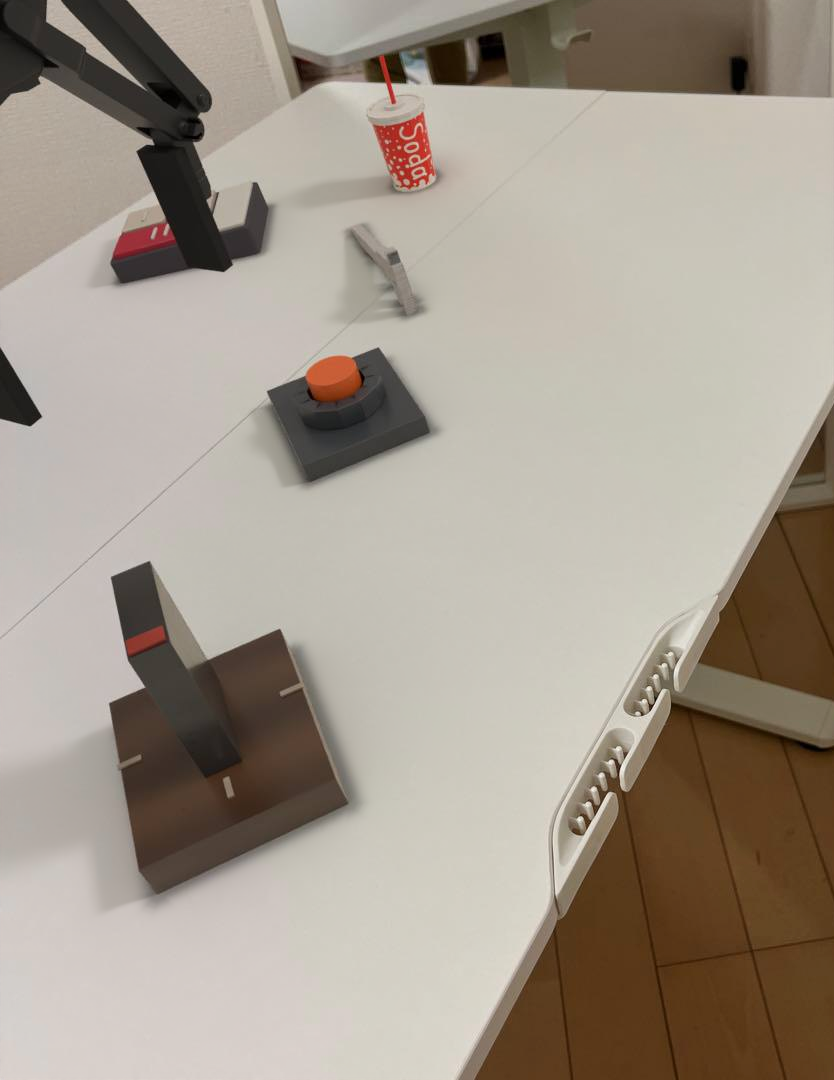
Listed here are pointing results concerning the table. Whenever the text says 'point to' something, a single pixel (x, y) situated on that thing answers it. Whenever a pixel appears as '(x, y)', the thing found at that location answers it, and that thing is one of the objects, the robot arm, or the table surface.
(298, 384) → the button block
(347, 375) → the button
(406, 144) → the beverage cup
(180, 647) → the red-tabbed grey box
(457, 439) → the table surface
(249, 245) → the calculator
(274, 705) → the panel
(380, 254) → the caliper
